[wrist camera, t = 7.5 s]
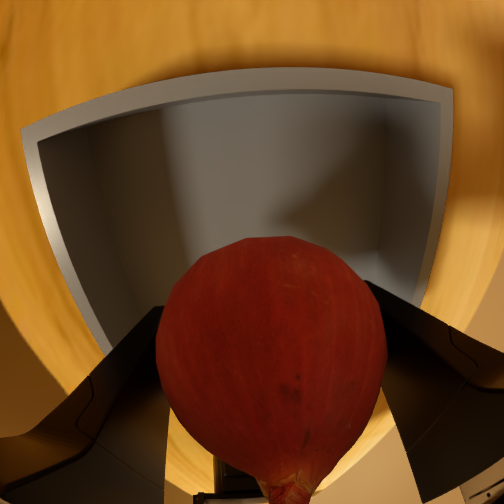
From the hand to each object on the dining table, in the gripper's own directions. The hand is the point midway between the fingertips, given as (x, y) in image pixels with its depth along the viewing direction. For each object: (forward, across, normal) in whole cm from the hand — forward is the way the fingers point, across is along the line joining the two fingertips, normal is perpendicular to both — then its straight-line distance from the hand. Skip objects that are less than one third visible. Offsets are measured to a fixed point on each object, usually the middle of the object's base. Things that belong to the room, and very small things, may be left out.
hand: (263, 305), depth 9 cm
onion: (+2, 0, 0) cm, 2 cm away
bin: (+5, 0, 0) cm, 5 cm away
